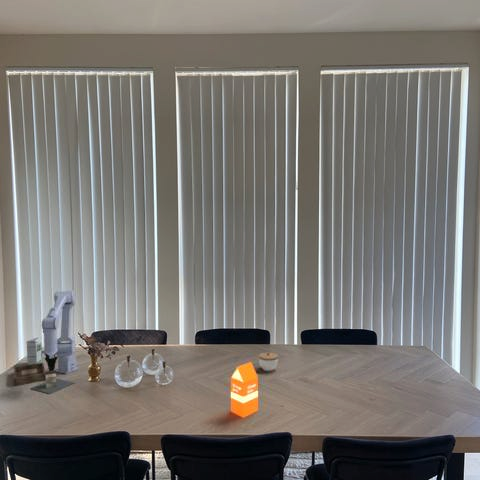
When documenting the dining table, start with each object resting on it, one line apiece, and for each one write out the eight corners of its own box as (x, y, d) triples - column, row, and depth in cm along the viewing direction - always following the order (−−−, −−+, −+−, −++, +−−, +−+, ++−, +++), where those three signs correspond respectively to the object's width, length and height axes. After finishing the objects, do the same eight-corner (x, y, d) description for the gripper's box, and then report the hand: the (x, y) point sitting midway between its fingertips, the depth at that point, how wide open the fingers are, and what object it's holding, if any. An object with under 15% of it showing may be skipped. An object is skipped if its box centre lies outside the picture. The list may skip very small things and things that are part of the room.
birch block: (55, 383, 191) (55, 373, 191) (56, 386, 187) (56, 376, 187) (45, 384, 189) (45, 375, 189) (46, 388, 185) (46, 378, 185)
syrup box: (36, 365, 218) (36, 340, 218) (26, 365, 219) (26, 340, 218) (42, 361, 224) (41, 337, 224) (32, 361, 224) (32, 337, 224)
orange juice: (230, 411, 160) (230, 364, 160) (245, 404, 166) (245, 359, 166) (243, 417, 154) (243, 369, 154) (258, 410, 161) (258, 364, 160)
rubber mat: (74, 383, 191) (74, 382, 191) (49, 394, 179) (49, 393, 179) (55, 379, 197) (55, 378, 197) (30, 389, 185) (30, 388, 185)
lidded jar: (257, 371, 205) (256, 354, 205) (260, 365, 216) (260, 348, 216) (276, 373, 203) (276, 356, 203) (279, 366, 213) (279, 350, 213)
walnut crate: (43, 368, 213) (42, 362, 213) (45, 380, 196) (45, 373, 196) (14, 373, 206) (14, 367, 206) (14, 386, 189) (14, 379, 189)
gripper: (41, 339, 192) (41, 365, 192) (42, 346, 179) (42, 374, 180) (56, 337, 195) (56, 363, 196) (58, 344, 183) (58, 372, 183)
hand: (51, 368), depth 188 cm, fingers open, 7 cm apart
